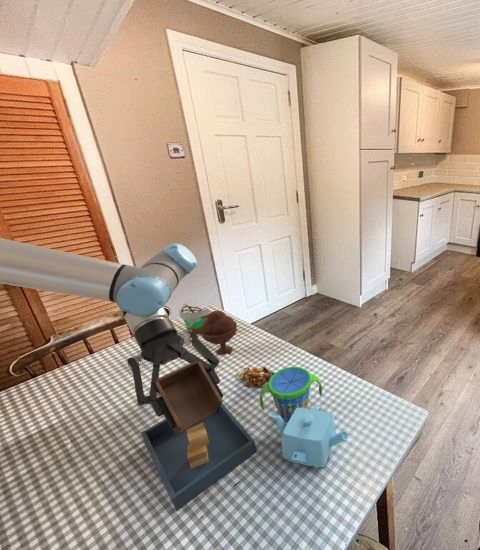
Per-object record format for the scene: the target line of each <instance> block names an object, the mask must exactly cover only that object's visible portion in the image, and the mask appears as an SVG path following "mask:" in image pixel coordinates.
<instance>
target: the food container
mask: <svg viewBox="0 0 480 550" xmlns="http://www.w3.org/2000/svg"><path fill="white" fill-rule="evenodd" d="M210 313H211V312H210V310H209V308H206V309H203V308H201V307H198V306H191V305H188V303H184V304H182V305H181V306H180V307H179V317H180V318H182V319H183V322H184V325H185V327H186V330H187V333H188V334H189V335H190V334H191V333H192V332H195V333H196V334H197V335H201V329H203V326H204V325H205V324H206V323H207V317H208V315H209V314H210Z"/></svg>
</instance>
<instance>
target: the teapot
mask: <svg viewBox="0 0 480 550" xmlns="http://www.w3.org/2000/svg"><path fill="white" fill-rule="evenodd" d="M269 417H271V418H272V419H273V420H274V421H275V422H276V424H277V428H278V432H279V434H280V436H281V438H282V439H281V452H282V456H283V458H284V459H285V460H287V461H289V462H291V463H293V464H299V465H304V466H309V467H313V468H315V469H319V468H323V467H325V466H326V464H327V461H328V459H329V457H330V453H331V451H332V449H333V447H334V446H336V445H339V444H340V443H343V442H345V441H347V440H348V438H349V435H348V432H347V431H346V430H342V431H340V432H338V433H336V432H337V430H336V423H335V419H334V416H333V414H332V413H331V412H327V411H325V410H324V411H323V410H322V407H321V406H320V405H314V406H313V408H309V407H308V408H296V410H295V411H294V413H293V415H292V416H291V418H290V420H289V421H286V420H285V419H283V418H282V417H281V416H280V415H279V413H276V412H270V413H269Z"/></svg>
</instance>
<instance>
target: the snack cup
mask: <svg viewBox="0 0 480 550" xmlns="http://www.w3.org/2000/svg"><path fill="white" fill-rule="evenodd" d="M314 382H316V383H317V384H318V395H319V396H323V385H322V382H321V380H320V378H319V377H318V376H317V375H315V374H314V373H311V372H309V370H308V369H306V368H304V367H300V366H288V367H285V368H282V369H279V370H278V371H276V372H275V374H274V375H272V376H271V378H270V380H269V382H268V383H267V384H265V385H264V386H262V387H261V389H260V392H259V405H260V408H261V410H262V411H264V410H265V404H264V401H263V400H264V399H263V396H264V395H265V394H266V393H270V395H271V396H272V399H273V402H274V404H275V407H276V410H277V412H278V413H277V414H278V415H279V416H280V417H281V418H282V419H283V420H285V421H286V422H289V420H290V418H291V416H292V415H293V413H294V411H295V410H296V408H308V409H309V401H310V390H311V386H312V383H314Z"/></svg>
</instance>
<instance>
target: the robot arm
mask: <svg viewBox="0 0 480 550" xmlns="http://www.w3.org/2000/svg"><path fill="white" fill-rule="evenodd" d="M197 267H198V260H197V258H196V257H195V254H193V253H192V251H191V250H190V249H189V248H187V247H186V246H185V245H183V244H180V243H178V242H177V243H176V242H173V243H171V244H169V245H168V246H166V247H165V248H162V250H161V251H159V252H158V253H156V254H155V255H153V256H152V257H151V258H150V259H149V260H147V261H146V262H145V263H143V264H142V265H141V266H140V267H138V266H136V265H135V266H134V265H128V264H124V263H120V262H114V261H111V260H107V259H101V258H96V257H92V256H86V255H82V254H78V253H77V254H76V253H74V252H73V253H72V252H68V251H64V250H58V249H54V248H49V247H44V246H40V245H35V244H30V243H25V242H22V241H17V240H12V239H7V238H3V237H0V284H2V285H8V286H15V287H22V288H27V289H33V290H39V291H45V292H51V293H57V294H63V295H67V296H68V295H69V296H75V297H80V298H81V297H82V298H86V299H87V298H88V299H92V300H93V299H94V300H99V301H105V302H111V303H115V304H116V305H117V306H118V309H119V310H120V312H121V313H122V317H123V318H124V320H125V323H126V324H127V326H128V328H129V329H130V332H131V333H132V334H133V338H134V339H135V342H136V343H137V345H138V347H139V349H140V354H139V355H137V356H134V357H128V358H127V359H126V363H127V366H128V369H130V371H131V372H132V377H133V383H134V390H135V396H136V403H137V406H139V407H142V406H144V405H150V406H151V408H152V410H153V412H154V413H155V416H156V417H158V418H160V417H162V416H163V417H164V419H166V420H167V422H168V424H169V426H170V428H171V429H173V428H174V427H175V426H176V423H175V421H174V419H173V417H172V415H171V414H170V412H169V410H168V408H167V406H166V404H165V402H164V400H163V398H162V396H161V397H159V398H157V387H156V385H155V383H154V381H155V380H157V379H159V378H160V370H161V366H164V365H166V364H168V363H169V362H172V361H175V360H177V359H179V360H182V361H185V362H187V363H188V364H190V363H192V362H194V361H196V360H198V359H199V360H200V362H201V364H202V365H203V367H204V369H205V371H206V372H207V374H208V376H209V378H210V379H211V381H212V383H213V384H214V386H215V388H216V390H217V391H218V393H219V395H220V397H221V398H222V399H223V397H224V394H223V392H222V390H221V388H220V387H219V384H220V382H221V378H220V377H219V375H218V374H217V372H216V370H215V369H216V368H218V367H219V364H220V359H219V358H218V357H217V356H216V355H215V354H214V353H213V352H212V351H211V350H210V349H209V348H208V347H207V346H206V345H205V344H204V343H203V342H202V341H201V340H200V339H199V337H198V334H196V333H195V332H192V333H191V334H190V333H189V334H187V335H185V336H183V335H181V334H180V333H179V332H178V330H177V329H176V327H175V325H174V323H173V321H172V320H171V319H170V318H169V317H170V316H169V315H168V313H167V311H166V310H165V308H164V306H165V305H166V304H167V303H168V302H169V300H170V299H171V297H172V294H173V293H174V291H175V290H176V289H177V287H178V286H179V284H180V283H181V281H182V280H183V279H184V277H186V276H187V275H190V274H191V272H192V271H193V270H195V269H196V268H197ZM184 343H187V344H188V345H191V346H192V347H193V348H194V350H196V351H197V353H198V354H200V356H202V357H203V359H202V358H200V357H198V356H197V355H196V354H193V353H191V352H190V351H189V350H188V349H186V348H185V347H183V346H184ZM204 359H205V360H204ZM143 360H144V361H146V362H150V363H152V370H151V371H152V373H151V378H150V379H151V380H150V387H149V395H145V392H144V386H143V380H142V374H141V368H140V367H141V366H142V365H143V364H142V361H143Z"/></svg>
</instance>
